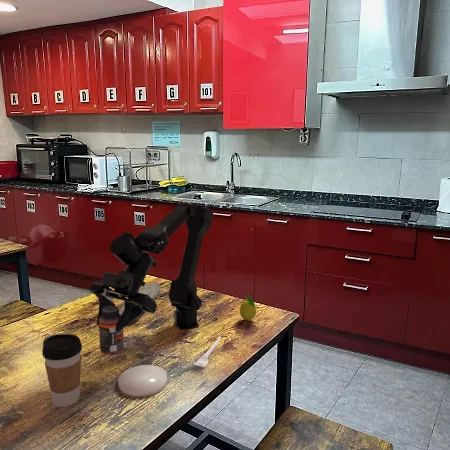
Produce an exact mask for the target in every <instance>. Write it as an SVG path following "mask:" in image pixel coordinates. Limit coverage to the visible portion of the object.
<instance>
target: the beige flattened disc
mask: <svg viewBox="0 0 450 450" xmlns="http://www.w3.org/2000/svg"><path fill="white" fill-rule="evenodd" d="M117 384H118V385H117V387H118V389H119V391H120V393H122V394H124V395H126V396H129V397H133V398H144V397H150V396H154V395H155V394H156V395H157V394H158V393H160V392H161V391H163V389H164V388H166V386H167V384H168V373H167V372H166V370H164V369H163V368H162V367H160V366H157V365H152V364H142V365H136V366H132V367H130V368H128V369H125V371H123V372H122V373H121V374H120V375H119V377H118V379H117Z"/></svg>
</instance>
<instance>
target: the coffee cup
mask: <svg viewBox="0 0 450 450" xmlns="http://www.w3.org/2000/svg"><path fill="white" fill-rule="evenodd" d="M82 349H83V344H82V342H81V338H80V337H79V336H78V335H75V334H71V333H70V334H69V333H59V334H53V335H49V336H48V337H46V338H45V339H44V340H43V342H42V351H41V353H42V354H41V355H42V357H43V358H44V367H45V370H46V376H47V381H48V386H49V389H50V396H51V401H52V405H54V406H55V407H58V408H64V407H69V406H72V405H74V404H76V403H77V402H78V400H80V397H81V396H80V394H81V393H80V391H81V390H80V389H81V386H80V385H81V372H82V371H81V369H82V367H81V366H82V355H81V351H82Z"/></svg>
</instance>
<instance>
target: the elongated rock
mask: <svg viewBox="0 0 450 450" xmlns="http://www.w3.org/2000/svg"><path fill="white" fill-rule="evenodd" d="M161 289H162V285H161V284H160V283H158V282H149V283H148V284H147V283H146V284H145V286H141V287H140V289H139V291H138V293H142V294H146V295H149V296H150V297H151V298H152V299H153V300H154V301H155V299H157V296H158V295H159V294H160V293H161ZM118 308H119V314H120V315H122V313H123V311H124V308H125V301H122V304H121V305H120V307H118ZM144 312H145V313H144V314H141V315H139V316H138V317H136V318H135V319H133V320H132V321H131V322H130V323H129V324H132V323H134V322H136V321H138V319H140V318H141V317H142V316H143V315H145V314H146V313H147V312H146V311H144Z"/></svg>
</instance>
